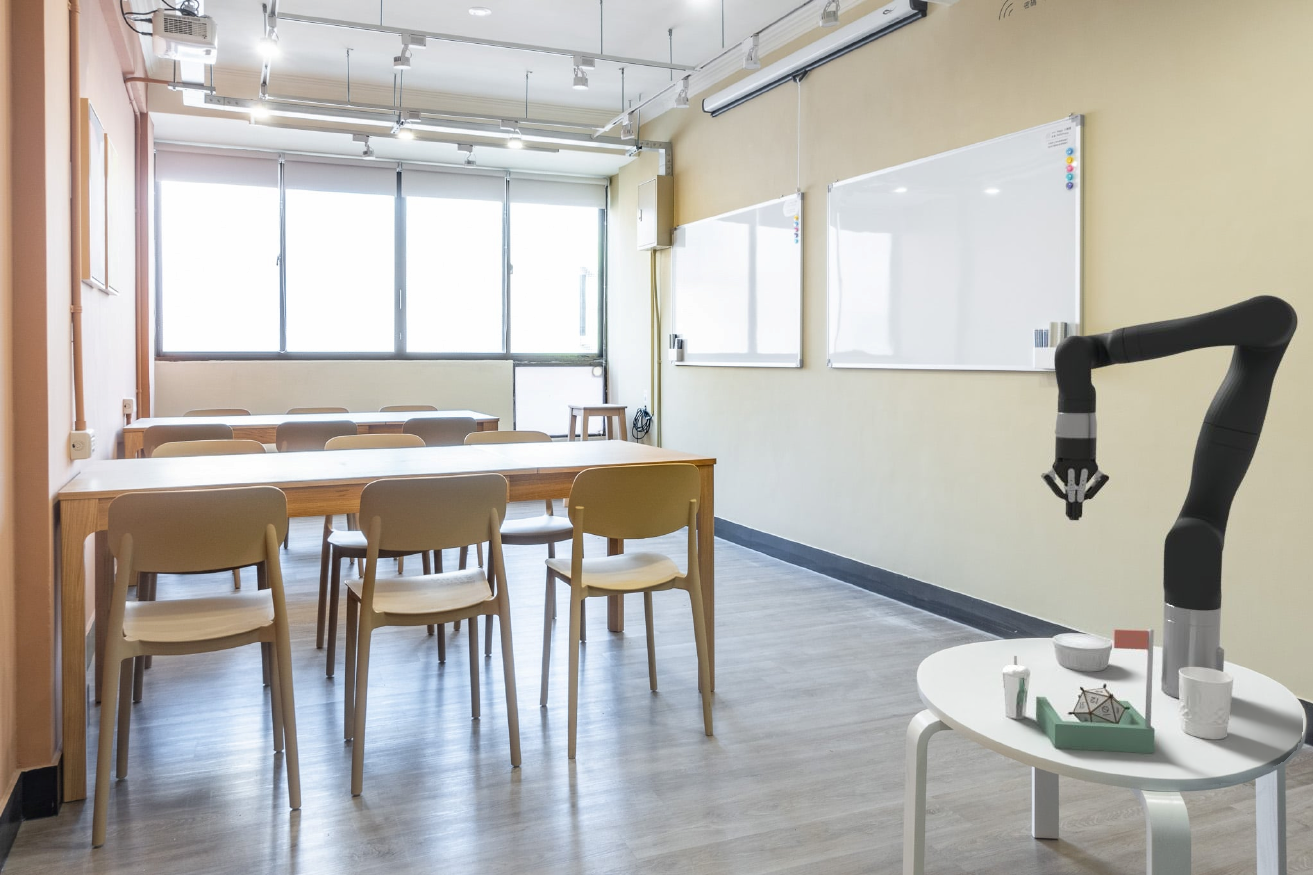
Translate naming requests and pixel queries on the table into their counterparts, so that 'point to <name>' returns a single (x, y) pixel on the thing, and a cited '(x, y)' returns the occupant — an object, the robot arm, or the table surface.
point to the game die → (1098, 707)
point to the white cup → (1205, 702)
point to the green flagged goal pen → (1107, 736)
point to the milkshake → (1016, 689)
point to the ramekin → (1082, 651)
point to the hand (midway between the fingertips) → (1073, 519)
